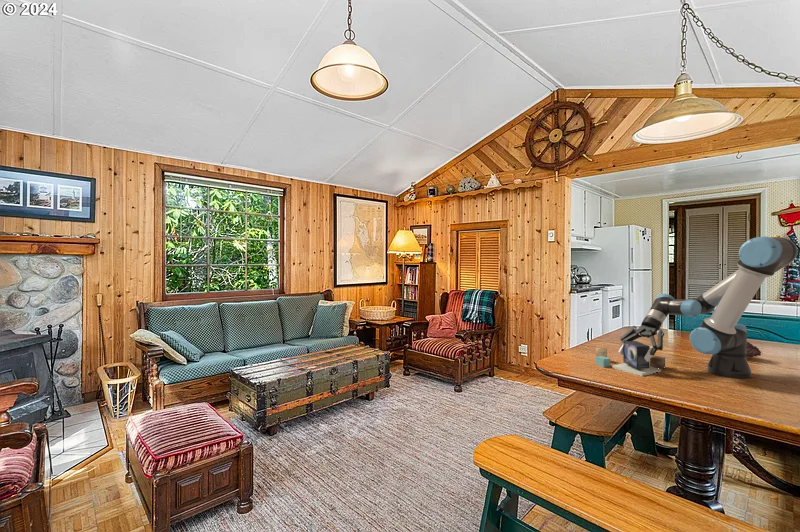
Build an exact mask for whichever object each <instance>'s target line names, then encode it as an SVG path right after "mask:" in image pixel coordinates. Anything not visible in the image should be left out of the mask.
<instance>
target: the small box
mask: <svg viewBox="0 0 800 532" xmlns="http://www.w3.org/2000/svg"><path fill="white" fill-rule="evenodd" d="M650 347H651V346H650V345H648V344H645V343H642V342H639V341H636V340H633V341H623V355H622V357H623V358H622V359H623V362H622V363H626V364H628V365H630V366H632V367H634V368H637V369H645V368H650V361H649V362H647V361H646V360H645V358H644V357H645V355H646V354H647V352H648V350H649V348H650Z"/></svg>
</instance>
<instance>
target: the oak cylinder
mask: <svg viewBox="0 0 800 532" xmlns="http://www.w3.org/2000/svg"><path fill="white" fill-rule="evenodd" d="M597 356H604V357H607V358H608V349H607V348H605V347H602V348H601V347H597V348H595V358H596V357H597Z"/></svg>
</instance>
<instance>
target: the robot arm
mask: <svg viewBox="0 0 800 532" xmlns="http://www.w3.org/2000/svg"><path fill="white" fill-rule="evenodd" d="M798 253H799V250H798V247H797V244H796V243H794V241H792V240H790V239H789V238H786V237H780V236H777V237H776V236H775V237H774V236H773V237H772V236H771V237H770V236H757V237H753V238H750V239H748V240H746V241H745V242H744V243H743V244H741V246H740V248H739V249H738V256H739V259H738V261H737V263H736V264H737V268H738V269H737V270H736V271H734V272H733V273H731V274H729V275H728V276H727V277H725V278H724V279H723V280H720V281H719V282H717V284H715V285H713V286H712V287H711V288H709V289H708V290H706V291H705V292H703V293H702V294H699V296H697V297H695V298H687V299H686V298H685V299H679V298H678V299H676V298H675V297H674V296H672V295H670V294H667V293H659V294H658V295H657V296H656V298H655V299H654V300H653V302H652V305H651V307H650V308H649V310H648V312H647V313H646V315H645V317H644V318H643V320H642V321H641V325H640V326H636V325H633V326H632V327H631V328H630V329H629V330H628V331H627V332H625V333H624V334H623V335H622V336H621V337H620V338H619V340H620V341H621V343H620V346H619V347H620V348H619V349H618V354H619V355H620V356H623V341H636V340H637V339H638V338H639V339H641V338H647V339H650V343H651V346H650V348H649V350H648V352H647V354H646V355H645V357H644V358H645V360H646V361H647V362H649V363H650V358H651V356H653V355H654V356H655V354H656V353H657V351H659V350H660V351H663V349H664V346H663V345H664V344H663V343H664V340H663V339H664V338H663V337H664V336H665V333H664V331H663V329H661V327H662V325H663V324H664V322H665V320H666V318H667V317H668V315H671V316H672V315H673V316H681V317H683V316H684V317H698V316H699V315H706V314H711V313H712V314H711V316H710V317H706V318H704V319H703V321H702V322H701V324H700V325H699V327H696V328H694V329H693V330H691V332H690V334H689V342H690V344H691V346H692V347H693V348H694V349H695V350H696V351H697V352H699V353H701V354H704V355H711V357H710V359H709V362H708V363H707V367H706V368H707V369H706V370H707V372H709V373H712V374H715V375H718V376H722V377H728V378H734V379H735V378H737V379H749V378H751V377H752V370H751V366H750V364H749V362H748V359H747V357H746V346H747V342H748V341H747V340H748V339H747V338H748V332H747V331H748V330H747V326H746V325H744V324H741V323H738V322H739V320H740V319H741V318H742V315H743V314H744V313H745V311H746V310H747V308H748V306H749V305H750V304H751V301H752V300H753V298H754V297H755V295H756V294H757V292H758V290H759V289H760V287H761V286H762V285H763V283H764V282H765V280H766V278H769V277H773V276H774V275H775V273H776V272H778V271H780V270H781V269H783V268H785V267H787V266H788V265H790V264H791V263H793V262H794V261H795V260H796V259H797V257H798ZM655 335H657V342H656V338H655Z"/></svg>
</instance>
